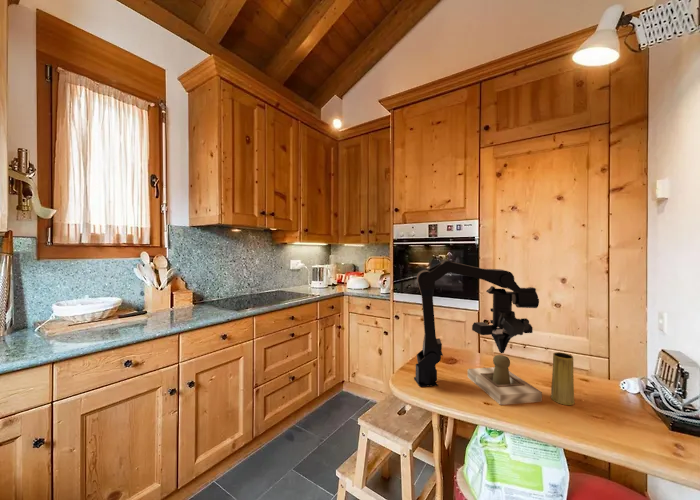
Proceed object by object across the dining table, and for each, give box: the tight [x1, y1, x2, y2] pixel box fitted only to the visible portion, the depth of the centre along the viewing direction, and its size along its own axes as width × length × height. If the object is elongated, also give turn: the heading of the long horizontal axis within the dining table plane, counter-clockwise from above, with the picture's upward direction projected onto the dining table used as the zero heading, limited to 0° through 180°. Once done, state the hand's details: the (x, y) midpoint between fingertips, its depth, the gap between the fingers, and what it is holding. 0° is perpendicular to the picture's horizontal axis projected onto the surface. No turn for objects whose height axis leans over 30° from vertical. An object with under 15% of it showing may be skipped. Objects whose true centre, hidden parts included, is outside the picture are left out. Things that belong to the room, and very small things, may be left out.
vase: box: [550, 351, 576, 406], centre depth 93 cm, size 6×6×14 cm
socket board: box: [467, 366, 543, 406], centre depth 100 cm, size 14×19×3 cm
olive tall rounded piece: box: [492, 354, 511, 385], centre depth 100 cm, size 6×6×11 cm
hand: (501, 352), depth 100 cm, fingers closed
